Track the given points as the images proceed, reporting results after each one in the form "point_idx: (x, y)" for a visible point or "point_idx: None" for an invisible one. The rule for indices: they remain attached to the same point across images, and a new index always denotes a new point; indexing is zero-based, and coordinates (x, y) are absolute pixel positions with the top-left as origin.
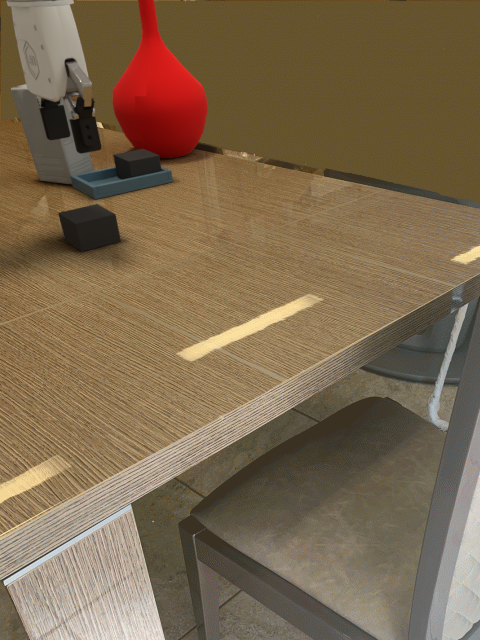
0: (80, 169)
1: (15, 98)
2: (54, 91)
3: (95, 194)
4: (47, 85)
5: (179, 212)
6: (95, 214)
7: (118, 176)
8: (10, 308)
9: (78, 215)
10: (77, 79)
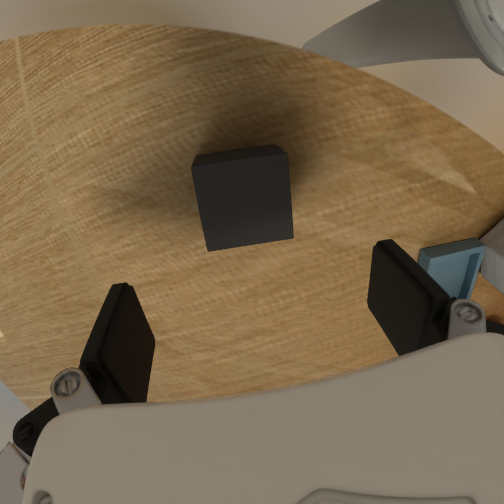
0: (488, 263)
1: None
2: (36, 448)
3: (423, 254)
4: (89, 483)
5: (284, 332)
6: (227, 217)
7: (453, 298)
8: (45, 34)
9: (242, 185)
10: (1, 502)
